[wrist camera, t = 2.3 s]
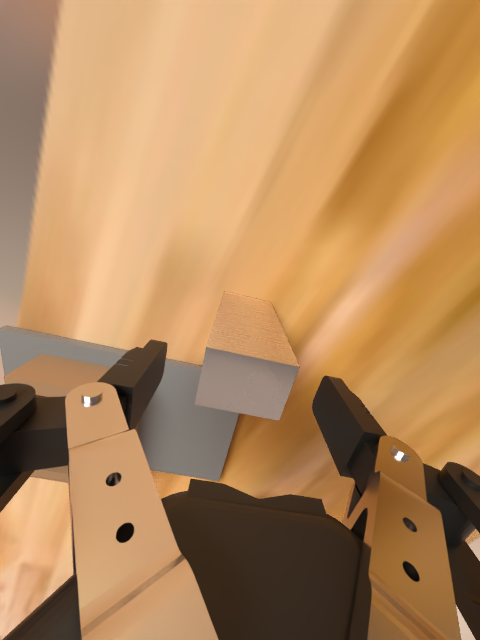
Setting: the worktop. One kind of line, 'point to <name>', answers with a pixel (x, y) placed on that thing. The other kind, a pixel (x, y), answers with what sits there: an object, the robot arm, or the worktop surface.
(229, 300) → the block
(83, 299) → the worktop surface
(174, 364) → the board
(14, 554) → the worktop surface
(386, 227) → the worktop surface
